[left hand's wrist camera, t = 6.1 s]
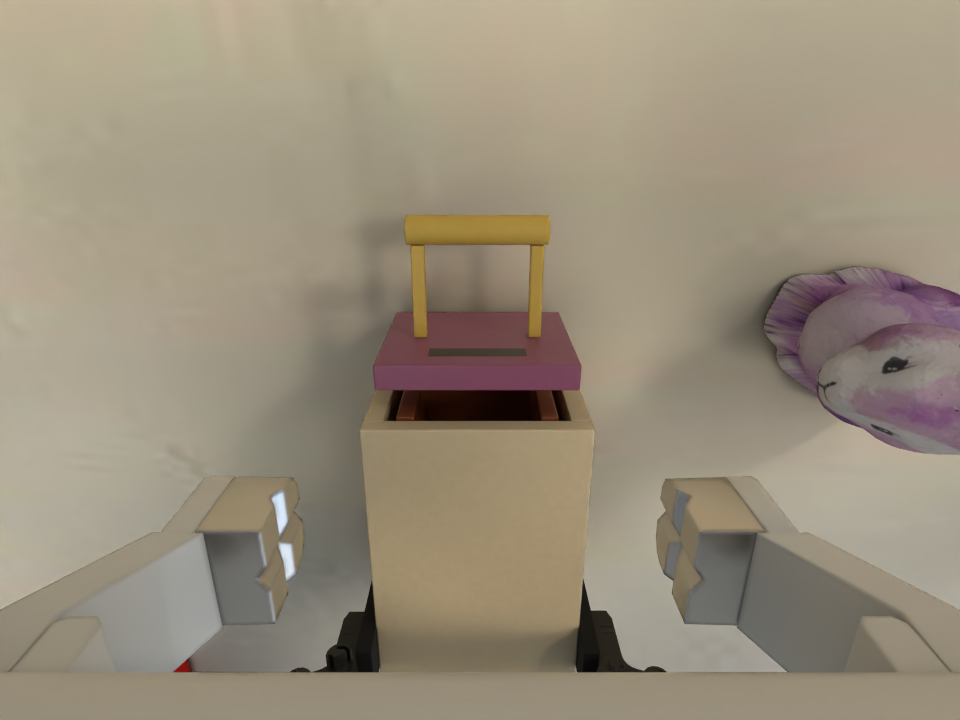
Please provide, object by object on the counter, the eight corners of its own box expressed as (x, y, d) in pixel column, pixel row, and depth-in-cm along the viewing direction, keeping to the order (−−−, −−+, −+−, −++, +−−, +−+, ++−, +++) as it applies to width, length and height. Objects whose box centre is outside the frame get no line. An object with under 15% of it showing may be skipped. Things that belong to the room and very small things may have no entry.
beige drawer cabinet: (390, 350, 34) (358, 429, 25) (564, 350, 34) (595, 429, 25) (404, 578, 40) (382, 708, 31) (551, 578, 40) (573, 708, 31)
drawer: (390, 204, 30) (362, 228, 23) (564, 204, 30) (591, 228, 23) (409, 542, 38) (392, 639, 31) (546, 541, 38) (562, 639, 31)
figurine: (724, 299, 33) (905, 425, 19) (910, 219, 31) (1260, 293, 17) (768, 433, 36) (952, 628, 22) (940, 367, 34) (1255, 532, 20)
